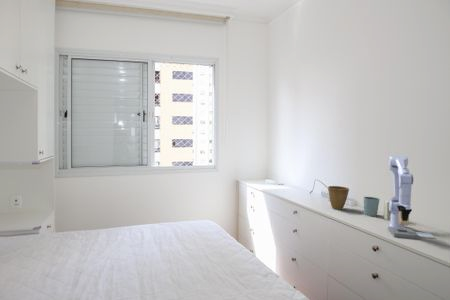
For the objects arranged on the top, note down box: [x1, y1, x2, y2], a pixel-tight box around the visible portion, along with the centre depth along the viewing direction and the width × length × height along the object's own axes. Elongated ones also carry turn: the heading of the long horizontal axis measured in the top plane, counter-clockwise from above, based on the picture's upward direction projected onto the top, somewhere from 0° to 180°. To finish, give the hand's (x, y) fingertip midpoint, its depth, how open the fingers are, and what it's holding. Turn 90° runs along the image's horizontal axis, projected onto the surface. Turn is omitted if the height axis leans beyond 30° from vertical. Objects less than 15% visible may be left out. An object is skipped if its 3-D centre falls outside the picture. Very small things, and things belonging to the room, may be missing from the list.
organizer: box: [387, 226, 420, 240], centre depth 180 cm, size 14×12×2 cm
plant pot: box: [327, 185, 350, 211], centre depth 241 cm, size 15×15×16 cm
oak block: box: [398, 211, 410, 227], centre depth 179 cm, size 4×4×7 cm
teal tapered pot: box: [363, 196, 380, 217], centre depth 224 cm, size 10×10×12 cm
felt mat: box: [414, 231, 436, 240], centre depth 179 cm, size 9×9×1 cm
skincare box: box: [383, 200, 392, 221], centre depth 213 cm, size 6×4×12 cm
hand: (403, 219), depth 179 cm, fingers closed on oak block, 4 cm apart
